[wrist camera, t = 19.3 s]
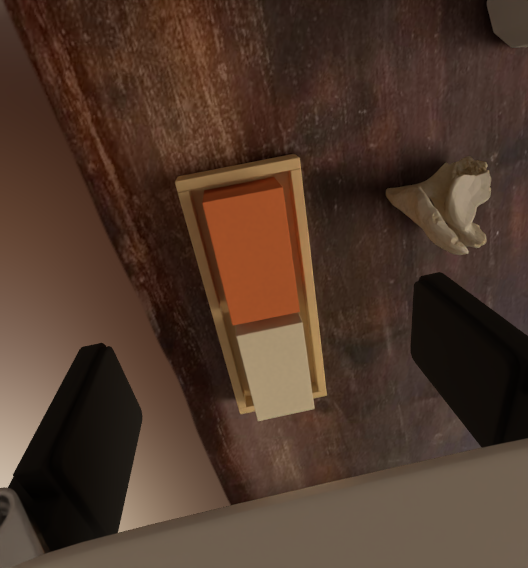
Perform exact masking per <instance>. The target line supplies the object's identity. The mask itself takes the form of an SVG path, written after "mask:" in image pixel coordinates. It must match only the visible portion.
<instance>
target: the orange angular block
mask: <svg viewBox="0 0 528 568" xmlns="http://www.w3.org/2000/svg"><path fill="white" fill-rule="evenodd" d="M202 205H203V209H204V213H205V217H206V221H207V225H208V229H209V233H210V237H211V241H212V245H213V249H214V253H215V257H216V261H217V265H218V269H219V273H220V277H221V281H222V285H223V290H224V294H225V298H226V302H227V306H228V310H229V314H230V318H231V322H232V325H233V326H234V325H238V324H243V323H248V322H253V321H258V320H263V319H268V318H272V317H277V316H282V315H287V314H292V313H297V312H300V309H299V301H298V294H297V287H296V279H295V272H294V265H293V257H292V250H291V243H290V235H289V228H288V221H287V213H286V206H285V199H284V191H283V187H282V186H281V185H280V183H279V182H278V181H277V180H276V179H275V177H270V178H265V179H260V180H255V181H250V182H244V183H239V184H234V185H229V186H224V187H218V188H213V189H208V190H204V195H203V201H202Z"/></svg>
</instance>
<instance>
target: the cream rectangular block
mask: <svg viewBox="0 0 528 568" xmlns="http://www.w3.org/2000/svg"><path fill="white" fill-rule="evenodd" d="M235 327H236V337H237V341H238V345H239V349H240V353H241V357H242V361H243V365H244V369H245V373H246V377H247V381H248V385H249V389H250V393H251V397H252V401H253V404H254V408H255V412H256V416H257V420H258V421H261V420H266V419H270V418H275V417H279V416H284V415H288V414H293V413H298V412H302V411H307V410H311V409H314V401H313V394H312V387H311V380H310V373H309V365H308V358H307V351H306V344H305V337H304V330H303V323H302V320H301V318H300V315H299V313H298V312H297V313H292V314H287V315H282V316H277V317H272V318H268V319H263V320H258V321H253V322H248V323H243V324H238V325H235Z"/></svg>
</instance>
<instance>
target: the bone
mask: <svg viewBox="0 0 528 568" xmlns="http://www.w3.org/2000/svg"><path fill="white" fill-rule="evenodd" d="M486 167H487V163H486V162H482V161H479V160H476V161H474V160H473V159H472V157H465V158H463V159H461V160H460V161H459V162H454V163H452V164H448V163H445V164H444V165H443V166H442V167H441V168H440V169H439V170H438V171H437V172H436V173H435V174H434V175H433V176H432V177H430V178H429V179H427V180H426V181H424V182H421V183H418V184H414V185H407V186H403V187H397V188H388V189H386V197H387V198H388V200H389V201H390V202H391V204H392V205H393V206H395V207H396V208H398V209H399V210H401V211H402V212H403V213H404V214H405V215H407V216H408V217H409V218H411V219H412V220H413V221H414V222H415V223H416V224H417V225H419V226H420V227H421V228H422V229H423V230H424V231H425V233H426V235H427V237H428V238H429V239H430V240H431V241H432V242H433V243H434V244H435V245H437V246H439V247H440V248H442V249H445V250H446V251H448V252H450V253H452V254H456V255H462V254H468V250H467V248H466V247H465V246H472V247H475V248H480V246H481V245H484V244H485V243H486V241H487V240H486V235H485V233H483V232H482V231H481V229H480V226H478V225H477V224H475V223H472V221H473V219H474V216H475V214H476V209H477V207H478V206H479V205H480V204H482V203H484V202H485V201H487V200H488V199H489V197H490V194H491V188H490V187H489V186H490V185H491V184H490V182H491V177H490V174H489V170H486ZM428 197H429V198H430V199H431V200H432V202H433V204H434V206H433V205H432V203H431V201H430V199H429V198H428ZM444 221H445V222H446V223H447V224H448V226H447V225H446V224H445V222H444Z"/></svg>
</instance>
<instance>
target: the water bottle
mask: <svg viewBox="0 0 528 568" xmlns="http://www.w3.org/2000/svg"><path fill="white" fill-rule="evenodd" d="M487 8H488V12H489V16H490V20H491V24H492V28H493V32H494V33H495V34H496V35H497V36H498V37H499V38H501V39H502V40H503V41H504V42H505V43H506V44H508V45H509V46H510V47H511V48H517V47H528V0H487Z"/></svg>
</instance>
